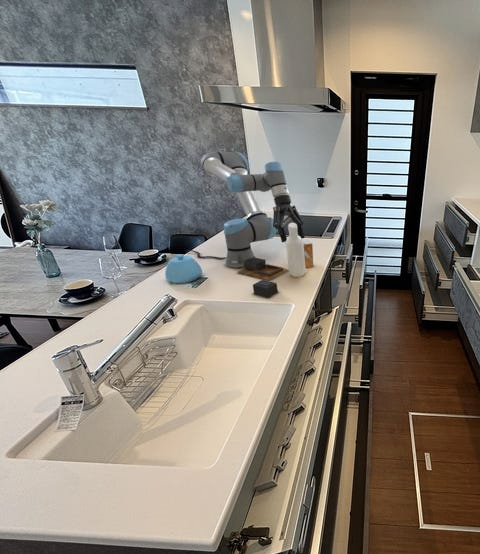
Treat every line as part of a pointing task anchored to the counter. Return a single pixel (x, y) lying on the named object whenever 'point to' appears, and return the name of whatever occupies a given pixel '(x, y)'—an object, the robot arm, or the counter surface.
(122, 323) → the counter surface
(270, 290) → the black rectangular block
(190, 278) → the sugar bowl
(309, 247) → the small box
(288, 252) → the bottle
